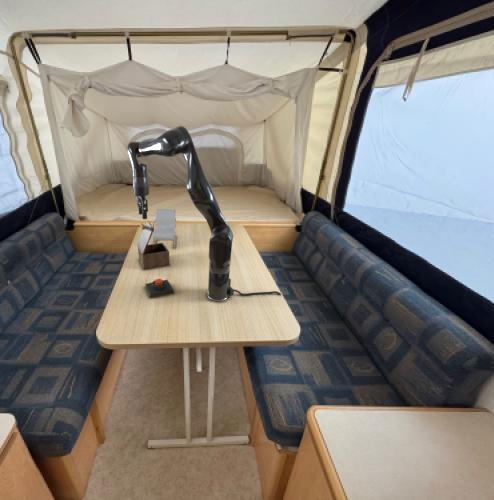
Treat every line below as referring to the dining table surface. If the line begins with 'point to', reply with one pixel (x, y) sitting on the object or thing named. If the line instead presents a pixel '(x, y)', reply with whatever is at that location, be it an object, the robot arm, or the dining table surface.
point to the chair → (165, 225)
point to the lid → (145, 236)
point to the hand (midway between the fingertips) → (142, 216)
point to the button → (158, 282)
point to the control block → (158, 289)
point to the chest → (154, 256)
